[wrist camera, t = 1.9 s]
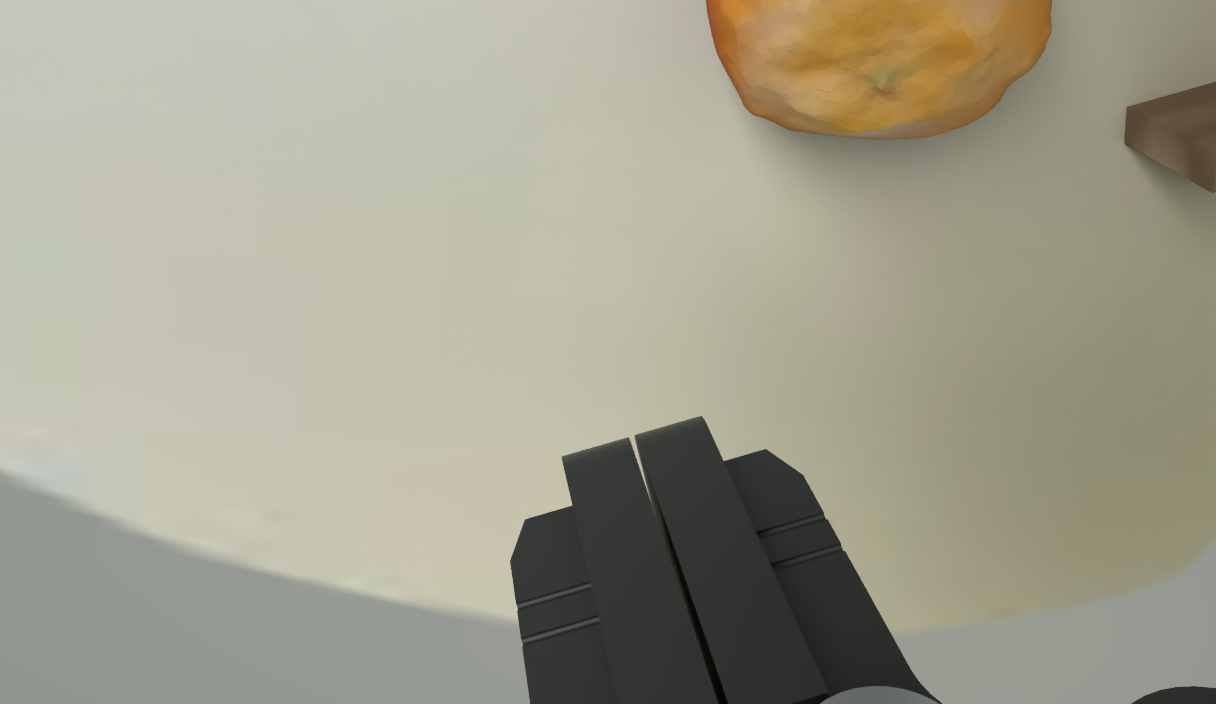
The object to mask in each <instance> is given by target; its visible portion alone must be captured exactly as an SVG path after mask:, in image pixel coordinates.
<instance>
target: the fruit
mask: <svg viewBox="0 0 1216 704" xmlns="http://www.w3.org/2000/svg"><path fill="white" fill-rule="evenodd" d="M706 5H707V13H708V18H709V23H710V28H711V33H712V37H713V40H714V44H715V48H716V51H717V54H718V56H719V58H720V60H721V62H722V64H723V66H724V68H725V70H726V72H727V74H728V76H729V77H730V79H731V81H732V83H733V85H734V87H735V88H736V90H737V92H738V93H739V95H740V97H741V100H742V102H743V105H744V106H745V107H746V108H747V110H748V111H749V112H750V113H752V114H753V115H755V116H759V117H762V118H765V119H768V120H770V121H773V122H775V123H777V124H779V125H781V126H783V127H784V128H787V129H790V130H793V131H801V132H810V133H818V134H826V135H834V136H844V137H855V138H867V139H883V140H891V139H906V138H921V137H929V136H932V135H936V134H941V133H943V132H946V131H948V130H952V129H956V128H959V127H962V126H965V125H967V124H969V123H971V122H973V121H975V120H976V119H978V118H980V117H981V116H983V115H984V114H986V113H987V112H988V111H989V110H991V109H992V108H993V107H994V106H995V105H996V104H997V103H998V102H999V100H1000V99H1001V97H1002V96H1003V94H1004V92H1005V91H1006V89H1007V88H1008V87H1009V85H1010V84H1011V83H1012V82H1014V81H1015V80H1016V79H1018V78H1019V77H1021V76H1022V75H1024V74H1025V73H1026V72H1028V71H1029V70H1030V69H1031V68H1032V67H1033V66H1034V65H1035V63H1036V62H1037V61H1038V59H1039V58H1040V56H1041V54H1042V53H1043V51H1044V49H1045V47H1046V42H1047V40H1048V38H1049V36H1050V33H1051V16H1050V14H1051V5H1052V0H706Z"/></svg>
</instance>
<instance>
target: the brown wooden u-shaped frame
mask: <svg viewBox="0 0 1216 704" xmlns="http://www.w3.org/2000/svg"><path fill="white" fill-rule="evenodd" d="M1125 144H1126V145H1128V146H1130V147H1131V148H1133V149H1135V150H1137V151H1139V152H1140V153H1142V154H1144V155H1146V156H1148V157H1149V158H1151V159H1153V160H1155V161H1156V162H1158V163H1160V164H1162V165H1164V166H1165V167H1167V168H1169V169H1171V170H1173V171H1174V172H1176V173H1178V174H1180V175H1181V176H1183V177H1185V178H1187V179H1189V180H1190V181H1192V182H1194V183H1196V184H1198V185H1199V186H1201V187H1203V188H1205V189H1206V190H1208V191H1210V192H1212V193H1214V192H1216V82H1215V83H1211V84H1208V85H1204V86H1201V87H1197V88H1194V89H1190V90H1186V91H1183V92H1179V93H1176V94H1172V95H1169V96H1165V97H1162V98H1158V99H1155V100H1151V101H1147V102H1144V103H1140V104H1137V105H1133V106H1130V107H1127V119H1126V132H1125Z"/></svg>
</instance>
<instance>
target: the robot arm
mask: <svg viewBox="0 0 1216 704" xmlns="http://www.w3.org/2000/svg"><path fill="white" fill-rule="evenodd" d="M635 440H636V445H637V449H638V453H639V457H640V461H641V465H642V469H643V472H644V476H645V480H646V484H647V488H648V492H649V495H648V492H647V489H646V486H645V483H644V480H643V477H642V474H641V471H640V468H639V465H638V463H637V460H636V457H635V454H634V451H633V448H632V445H631V442H630V439H629V437H628V438H624V439H621V440H617V441H614V442H610V443H607V444H604V445H600V446H597V447H593V448H590V449H586V450H583V451H579V452H576V453H572V454H569V455H566V456H562V461H563V466H564V470H565V474H566V479H567V483H568V487H569V492H570V496H571V500H572V504H573V506H570V507H566V508H563V509H559V510H556V511H553V512H549V513H546V514H542V515H539V516H535V517H532V518H529V519H525V521H524V524H523V527H522V530H521V532H520V535H519V538H518V541H517V544H516V546H515V549H514V552H513V555H512V557H511V560H510V563H511V570H512V577H513V584H514V591H515V599H516V604H517V607H518V611H517V613H518V620H519V627H520V634H521V639H522V643H523V655H524V662H525V669H526V676H527V683H528V690H529V697H530V704H942V703H941V702H940V701H938V700H937V699H936V698H935V697H933V696H932V695H931V694H930V693H929V692H928V691H927V690H926V689H925V688H924V687H923V686H922V685H921V683H920V682H919V681H918V680H917V678H916V677H915V675H914V674H913V672H912V671H911V669H910V667H909V666H908V664H907V662H906V660H905V658H904V657H903V655H902V653H901V651H900V649H899V647H898V646H897V644H896V642H895V640H894V638H893V637H892V635H891V633H890V631H889V629H888V628H887V626H886V624H885V622H884V620H883V619H882V617H881V615H880V613H879V611H878V610H877V608H876V606H875V604H874V602H873V601H872V599H871V597H870V595H869V593H868V592H867V590H866V588H865V586H864V584H863V583H862V581H861V579H860V577H859V575H858V573H857V572H856V570H855V568H854V566H853V564H852V563H851V561H850V559H849V557H848V555H847V554H846V552H845V551H843V550H842V547H841V543H840V541H839V539H838V537H837V536H836V534H835V532H834V530H833V528H832V527H831V525H830V523H829V521H828V519H827V520H826V519H825V516H824V512H823V510H822V509H821V507H820V505H819V503H818V501H817V500H816V498H815V496H814V494H813V492H812V490H811V489H810V487H809V485H808V483H807V481H806V480H805V478H804V476H803V475H802V474H801V473H799V472H798V471H796V470H795V469H794V468H792V467H791V466H789V465H788V464H786V463H785V462H784V461H782V460H781V459H779V458H778V457H776V456H775V455H774V454H772V453H771V452H769V451H768V450H766V449H764V450H761V451H757V452H754V453H751V454H747V455H744V456H740V457H737V458H733V459H730V460H727V461H723V459H722V457H721V455H720V452H719V450H718V448H717V446H716V444H715V441H714V439H713V437H712V435H711V433H710V430H709V428H708V426H707V424H706V422H705V420H704V418H703V417H702V416H699V417H696V418H692V419H689V420H685V421H682V422H679V423H675V424H672V425H668V426H665V427H661V428H658V429H654V430H651V431H647V432H644V433H641V434H637V435H635ZM649 496H650V498H649ZM650 500H651V501H650ZM1132 704H1216V688H1207V687H1195V686H1193V687H1175V688H1170V689H1164V690H1159V691H1157V692H1154V693H1151V694H1149V695H1146V696H1144V697H1142V698H1140V699H1139V700H1137V701H1135V702H1133V703H1132Z"/></svg>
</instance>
